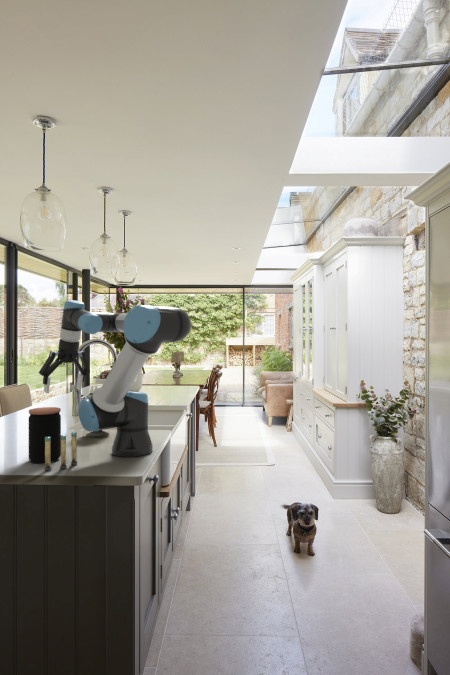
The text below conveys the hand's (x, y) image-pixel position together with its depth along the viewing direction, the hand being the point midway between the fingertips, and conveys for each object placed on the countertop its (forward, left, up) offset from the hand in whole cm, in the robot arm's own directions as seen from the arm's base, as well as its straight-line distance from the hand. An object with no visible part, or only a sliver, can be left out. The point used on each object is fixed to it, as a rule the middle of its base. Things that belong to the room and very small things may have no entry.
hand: (62, 390), depth 175 cm
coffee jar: (-13, +14, -23) cm, 30 cm away
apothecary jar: (+7, -20, -23) cm, 31 cm away
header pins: (-27, +16, -22) cm, 39 cm away
